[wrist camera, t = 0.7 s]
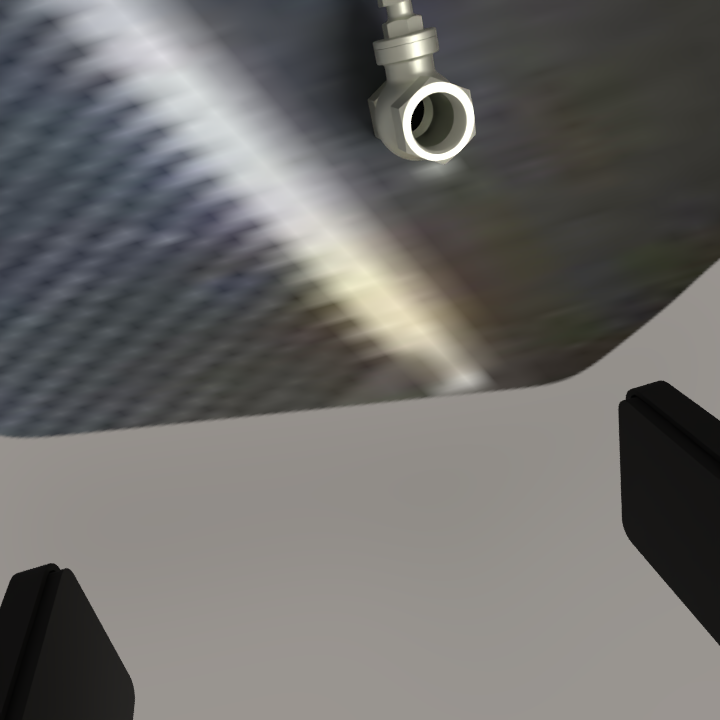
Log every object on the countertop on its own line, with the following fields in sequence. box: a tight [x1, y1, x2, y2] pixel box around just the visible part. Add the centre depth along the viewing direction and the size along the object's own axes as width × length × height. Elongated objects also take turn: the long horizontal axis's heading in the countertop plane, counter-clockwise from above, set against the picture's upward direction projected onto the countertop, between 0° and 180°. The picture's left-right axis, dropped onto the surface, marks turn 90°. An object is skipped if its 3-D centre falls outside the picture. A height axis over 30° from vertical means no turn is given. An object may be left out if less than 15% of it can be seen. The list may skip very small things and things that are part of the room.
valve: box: [368, 0, 476, 165], centre depth 31 cm, size 7×7×12 cm
